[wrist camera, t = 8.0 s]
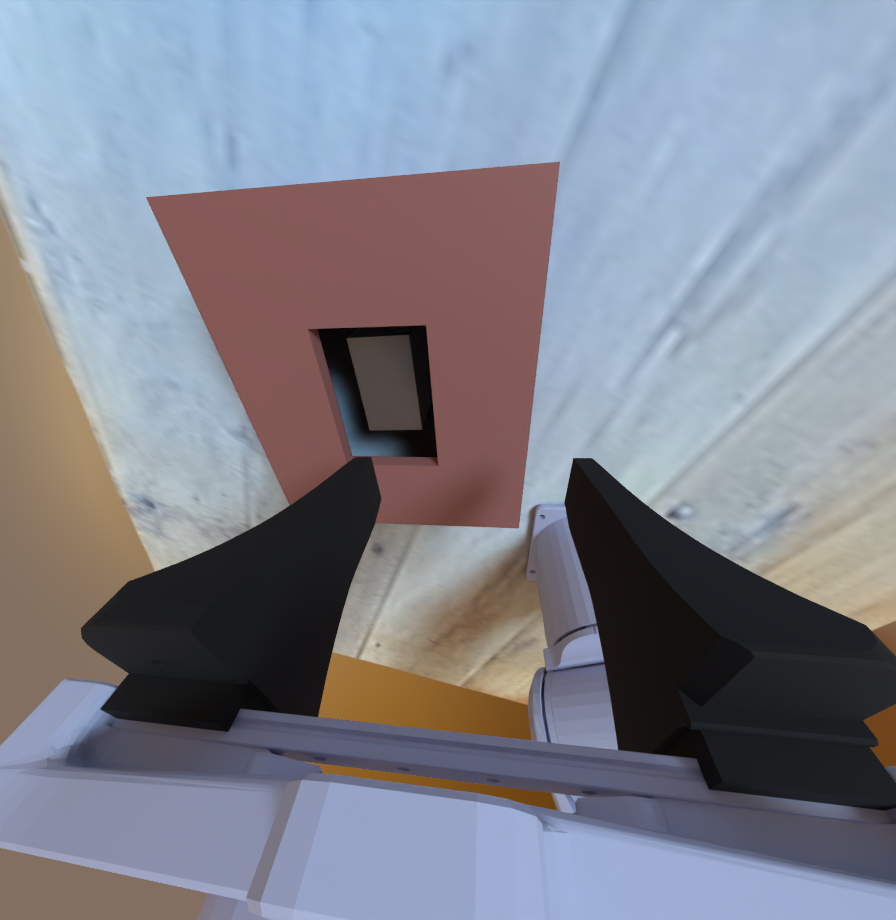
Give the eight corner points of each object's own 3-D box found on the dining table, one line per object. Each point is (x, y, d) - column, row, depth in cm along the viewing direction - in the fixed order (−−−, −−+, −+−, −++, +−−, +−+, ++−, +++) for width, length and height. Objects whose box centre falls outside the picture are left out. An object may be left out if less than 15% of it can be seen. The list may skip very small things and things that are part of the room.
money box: (512, 471, 23) (518, 528, 19) (330, 468, 25) (296, 519, 20) (536, 184, 14) (559, 161, 10) (243, 207, 16) (145, 197, 11)
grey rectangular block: (432, 398, 21) (422, 429, 17) (387, 399, 21) (369, 430, 18) (422, 316, 18) (408, 335, 14) (371, 319, 18) (346, 338, 15)
